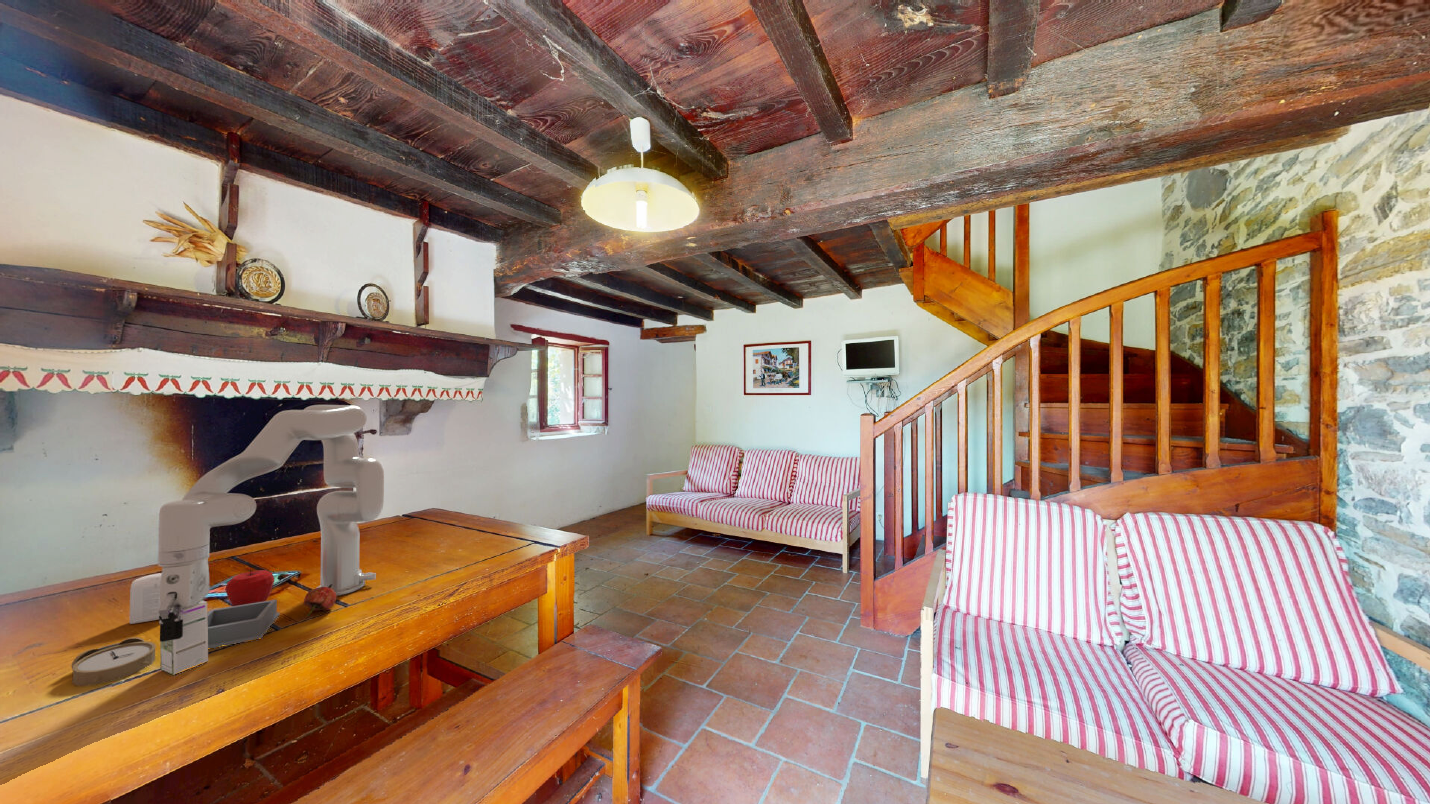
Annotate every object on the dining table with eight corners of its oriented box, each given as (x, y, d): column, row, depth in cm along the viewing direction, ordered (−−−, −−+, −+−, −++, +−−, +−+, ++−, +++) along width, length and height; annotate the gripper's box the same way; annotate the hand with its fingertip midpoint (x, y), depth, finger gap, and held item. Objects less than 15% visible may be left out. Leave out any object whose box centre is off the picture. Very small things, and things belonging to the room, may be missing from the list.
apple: (277, 596, 137) (278, 561, 137) (268, 609, 129) (269, 572, 129) (232, 604, 132) (232, 568, 132) (219, 618, 124) (219, 579, 124)
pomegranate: (323, 624, 126) (351, 591, 134) (303, 611, 122) (333, 577, 129) (305, 623, 128) (333, 590, 136) (284, 610, 124) (315, 577, 132)
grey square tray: (279, 615, 126) (279, 598, 126) (261, 639, 114) (261, 620, 114) (208, 628, 119) (208, 609, 119) (180, 654, 107) (181, 634, 107)
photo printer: (189, 610, 128) (190, 567, 128) (183, 616, 125) (183, 572, 125) (134, 619, 123) (134, 574, 122) (125, 626, 119) (126, 580, 119)
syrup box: (209, 662, 104) (209, 600, 104) (172, 677, 99) (172, 611, 98) (195, 657, 106) (196, 596, 106) (158, 671, 100) (158, 607, 100)
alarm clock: (78, 680, 93) (64, 648, 100) (77, 701, 93) (63, 668, 100) (162, 653, 103) (144, 625, 110) (161, 672, 103) (143, 644, 110)
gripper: (189, 564, 96) (187, 643, 96) (224, 542, 111) (222, 610, 111) (136, 570, 93) (134, 652, 92) (180, 546, 107) (178, 617, 107)
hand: (182, 629), depth 102 cm, fingers open, 9 cm apart
